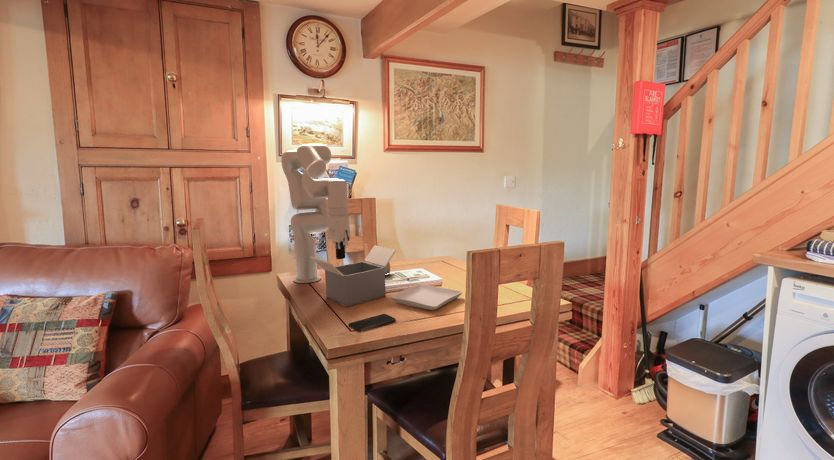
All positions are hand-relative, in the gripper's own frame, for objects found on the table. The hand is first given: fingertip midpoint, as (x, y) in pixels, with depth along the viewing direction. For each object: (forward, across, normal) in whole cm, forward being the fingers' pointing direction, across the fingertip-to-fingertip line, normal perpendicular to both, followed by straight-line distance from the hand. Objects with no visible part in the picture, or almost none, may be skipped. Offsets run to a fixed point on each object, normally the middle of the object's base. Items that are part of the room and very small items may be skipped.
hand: (340, 258), depth 172 cm
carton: (+17, 0, +6) cm, 18 cm away
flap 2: (+2, 0, +18) cm, 18 cm away
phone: (+18, +29, -5) cm, 35 cm away
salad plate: (+18, +24, +24) cm, 38 cm away
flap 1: (+2, 0, -6) cm, 6 cm away
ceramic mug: (+17, -23, +33) cm, 44 cm away
